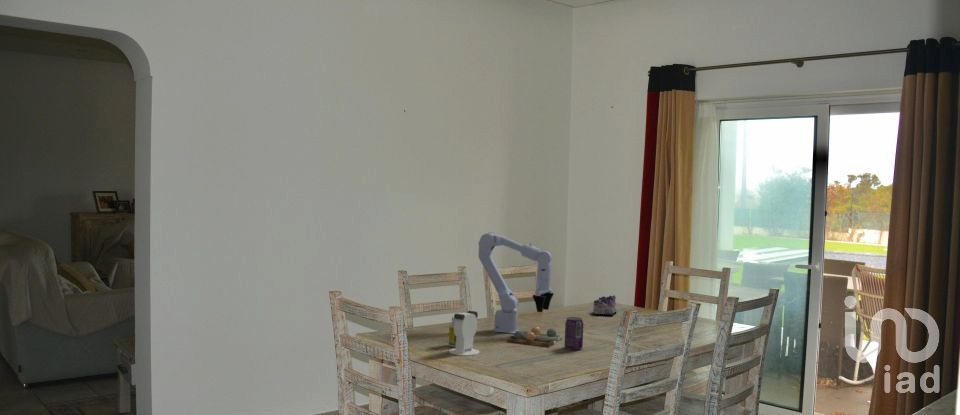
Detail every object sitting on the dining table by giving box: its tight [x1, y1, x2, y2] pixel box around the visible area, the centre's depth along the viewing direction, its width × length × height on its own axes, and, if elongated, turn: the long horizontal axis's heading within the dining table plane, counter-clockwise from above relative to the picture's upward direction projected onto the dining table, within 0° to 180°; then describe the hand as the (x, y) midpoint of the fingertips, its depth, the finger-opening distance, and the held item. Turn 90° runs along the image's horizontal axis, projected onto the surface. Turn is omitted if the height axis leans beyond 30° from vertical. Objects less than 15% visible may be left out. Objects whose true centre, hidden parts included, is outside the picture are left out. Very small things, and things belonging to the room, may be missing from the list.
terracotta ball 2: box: [530, 326, 541, 335], centre depth 319 cm, size 4×4×4 cm
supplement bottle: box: [448, 315, 456, 348], centre depth 297 cm, size 6×6×11 cm
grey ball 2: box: [546, 327, 557, 337], centre depth 316 cm, size 4×4×4 cm
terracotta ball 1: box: [526, 331, 536, 341], centre depth 307 cm, size 4×4×4 cm
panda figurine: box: [449, 310, 480, 357], centre depth 287 cm, size 12×11×15 cm
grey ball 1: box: [513, 330, 524, 340], centre depth 309 cm, size 4×4×4 cm
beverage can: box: [564, 316, 584, 351], centre depth 300 cm, size 7×7×12 cm
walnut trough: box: [506, 335, 555, 348], centre depth 307 cm, size 18×6×2 cm, turn 67°
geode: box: [592, 295, 618, 316], centre depth 386 cm, size 20×12×10 cm, turn 160°
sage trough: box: [521, 330, 564, 344], centre depth 316 cm, size 18×11×2 cm, turn 67°
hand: (542, 310), depth 326 cm, fingers open, 7 cm apart
